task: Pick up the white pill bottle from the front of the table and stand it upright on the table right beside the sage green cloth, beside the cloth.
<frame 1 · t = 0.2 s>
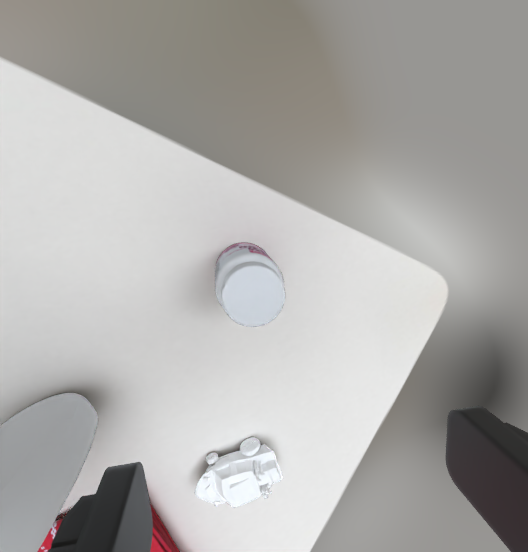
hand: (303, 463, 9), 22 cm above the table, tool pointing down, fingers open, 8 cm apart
toy car: (236, 462, 34), on the table
soap bottle: (49, 432, 31), on the table
pill bottle: (243, 268, 30), on the table
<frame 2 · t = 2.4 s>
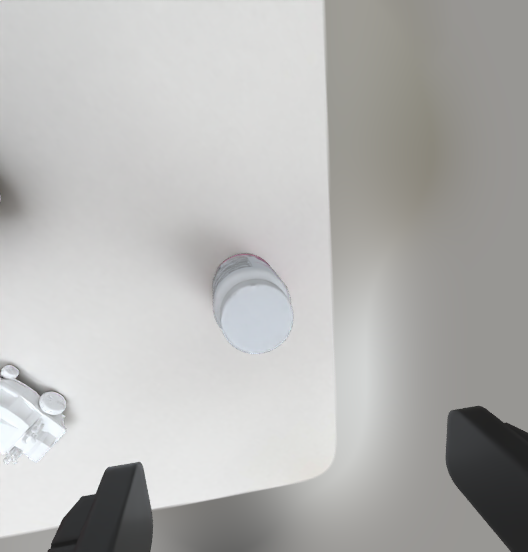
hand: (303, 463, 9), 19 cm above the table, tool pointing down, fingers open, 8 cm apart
toy car: (19, 399, 27), on the table
pill bottle: (244, 282, 27), on the table
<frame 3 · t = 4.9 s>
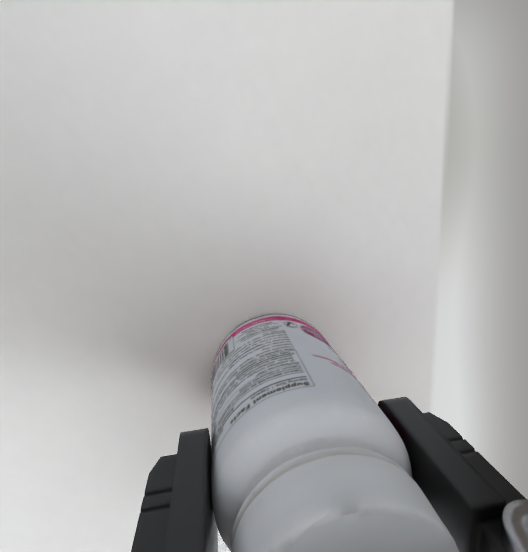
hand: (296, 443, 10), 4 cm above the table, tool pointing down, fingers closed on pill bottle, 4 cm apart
pill bottle: (271, 365, 14), on the table, touching gripper
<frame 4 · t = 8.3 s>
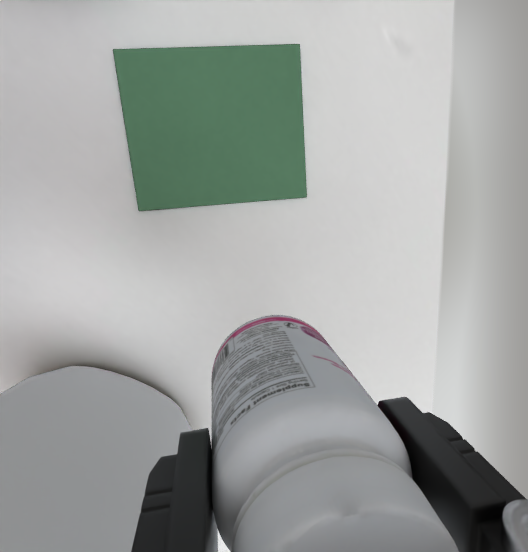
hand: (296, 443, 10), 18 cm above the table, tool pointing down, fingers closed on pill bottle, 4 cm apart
soap bottle: (118, 405, 28), on the table
pill bottle: (271, 365, 14), point 13 cm above the table, touching gripper
cloth: (217, 130, 24), on the table
when the fingers open (4 cm above the table, at t = 11.8 s): pill bottle stays where it is, on the table.
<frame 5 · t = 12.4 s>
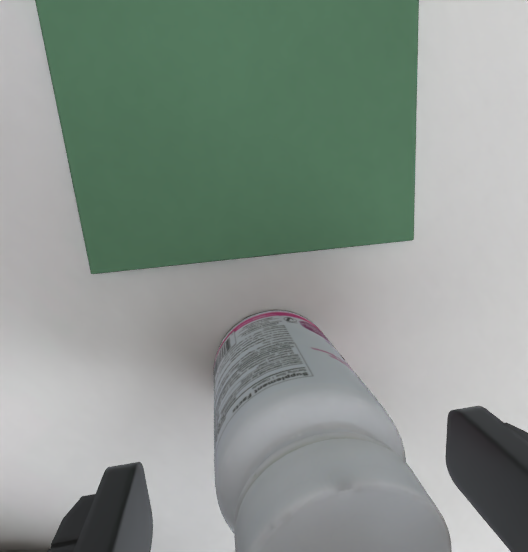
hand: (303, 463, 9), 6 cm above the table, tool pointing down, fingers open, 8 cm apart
pill bottle: (271, 359, 14), on the table
cloth: (247, 112, 12), on the table
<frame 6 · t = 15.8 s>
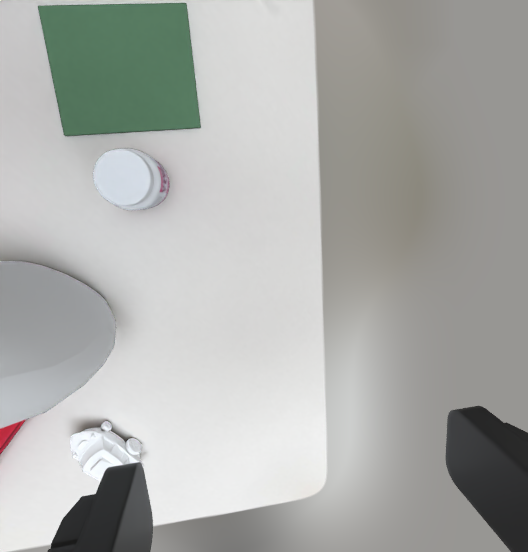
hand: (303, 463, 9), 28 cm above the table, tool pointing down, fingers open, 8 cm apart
toy car: (109, 442, 39), on the table
soap bottle: (56, 300, 35), on the table
pill bottle: (144, 182, 33), on the table
cloth: (125, 71, 31), on the table
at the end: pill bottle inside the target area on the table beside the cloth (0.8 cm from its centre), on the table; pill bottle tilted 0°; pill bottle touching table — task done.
